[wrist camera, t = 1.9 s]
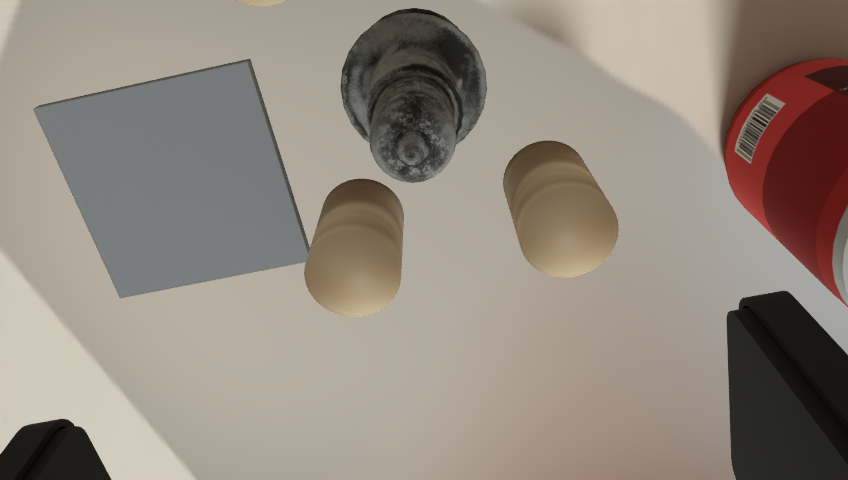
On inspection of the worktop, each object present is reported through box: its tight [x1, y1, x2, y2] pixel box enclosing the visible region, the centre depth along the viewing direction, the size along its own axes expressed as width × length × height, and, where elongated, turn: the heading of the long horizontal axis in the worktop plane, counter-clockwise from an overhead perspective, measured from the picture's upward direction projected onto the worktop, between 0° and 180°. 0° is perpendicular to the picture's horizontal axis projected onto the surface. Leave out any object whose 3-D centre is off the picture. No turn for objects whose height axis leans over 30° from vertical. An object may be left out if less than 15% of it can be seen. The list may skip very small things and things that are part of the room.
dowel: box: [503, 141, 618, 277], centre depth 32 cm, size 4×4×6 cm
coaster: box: [33, 59, 310, 298], centre depth 34 cm, size 10×10×1 cm
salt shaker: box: [341, 8, 487, 183], centre depth 27 cm, size 6×6×12 cm
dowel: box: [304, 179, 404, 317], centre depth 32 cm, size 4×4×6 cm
